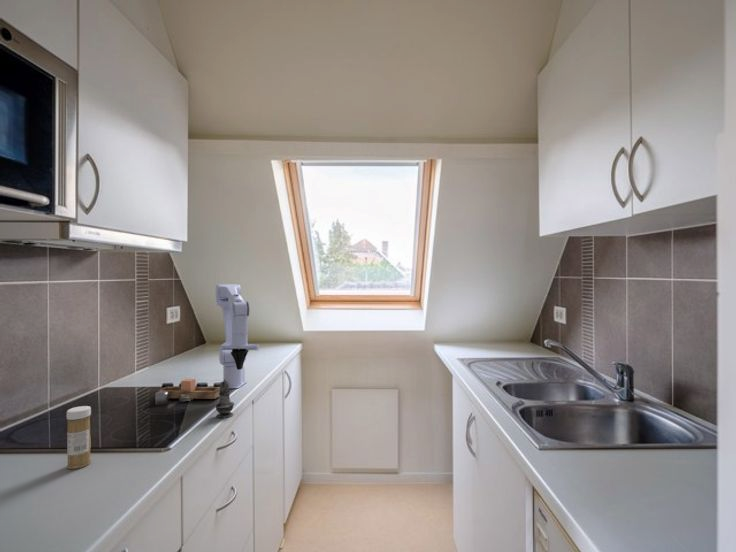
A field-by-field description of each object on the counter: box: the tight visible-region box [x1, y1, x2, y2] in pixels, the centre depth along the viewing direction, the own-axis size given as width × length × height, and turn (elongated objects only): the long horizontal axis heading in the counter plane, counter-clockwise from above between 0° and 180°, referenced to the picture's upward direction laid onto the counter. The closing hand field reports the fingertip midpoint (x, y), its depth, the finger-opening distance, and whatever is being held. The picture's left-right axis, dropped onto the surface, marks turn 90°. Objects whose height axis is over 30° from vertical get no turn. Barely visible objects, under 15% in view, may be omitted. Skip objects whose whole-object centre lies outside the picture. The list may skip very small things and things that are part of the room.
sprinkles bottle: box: [66, 405, 92, 470], centre depth 89 cm, size 5×5×14 cm
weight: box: [154, 391, 169, 407], centre depth 135 cm, size 4×4×4 cm
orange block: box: [180, 378, 196, 391], centre depth 140 cm, size 4×3×4 cm
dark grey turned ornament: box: [214, 378, 235, 419], centre depth 122 cm, size 6×6×12 cm
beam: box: [155, 386, 220, 403], centre depth 140 cm, size 22×7×4 cm, turn 86°
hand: (239, 369), depth 144 cm, fingers closed
